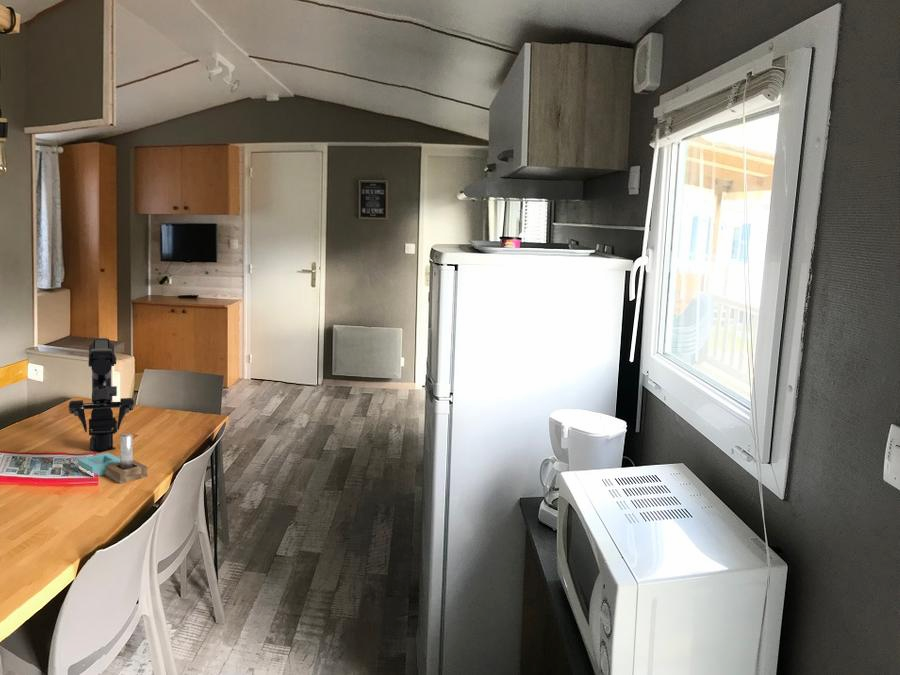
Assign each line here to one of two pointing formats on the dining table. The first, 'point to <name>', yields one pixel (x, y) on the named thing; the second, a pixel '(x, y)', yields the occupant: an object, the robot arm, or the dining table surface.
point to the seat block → (98, 463)
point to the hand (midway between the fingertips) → (102, 430)
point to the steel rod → (126, 451)
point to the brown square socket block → (126, 472)
